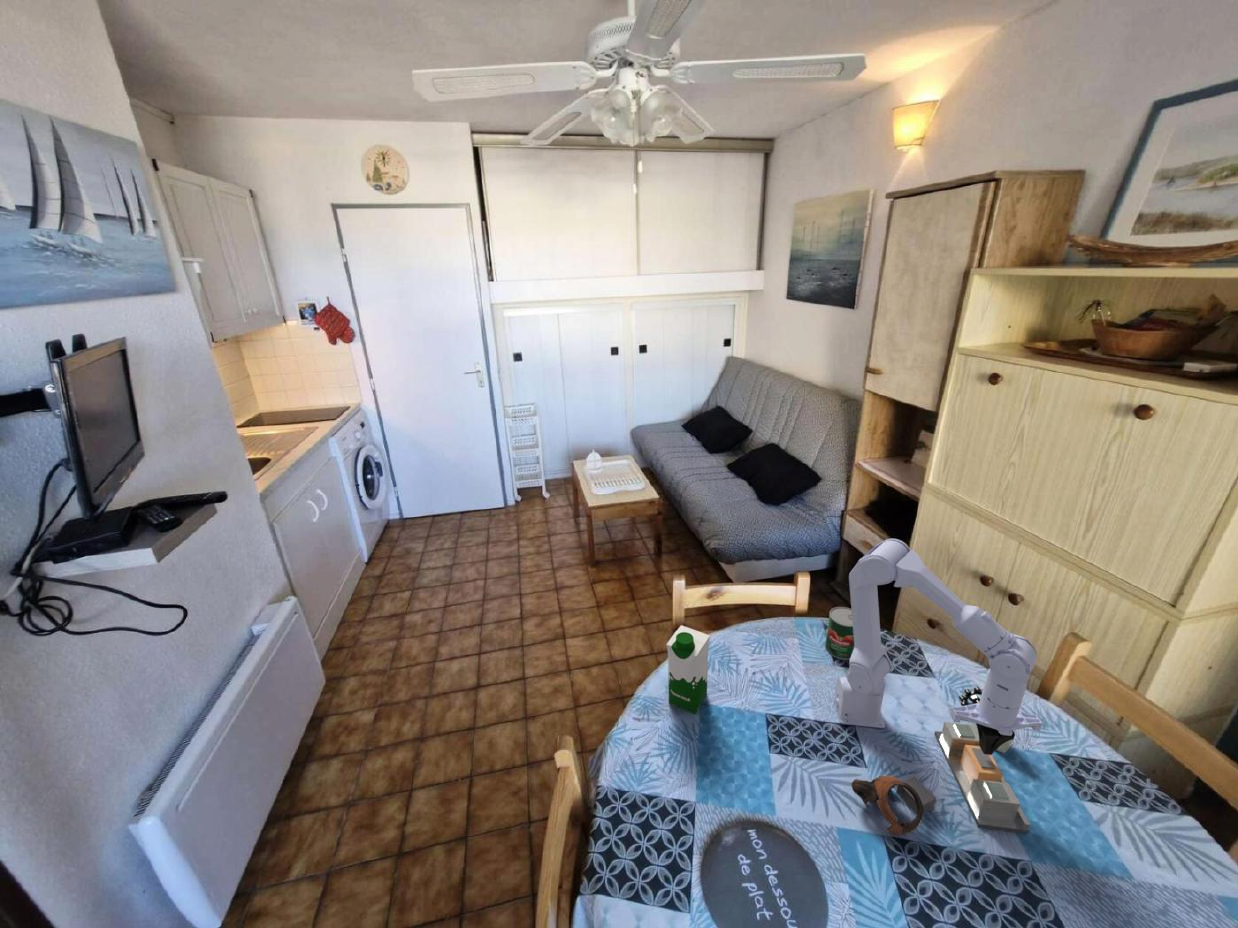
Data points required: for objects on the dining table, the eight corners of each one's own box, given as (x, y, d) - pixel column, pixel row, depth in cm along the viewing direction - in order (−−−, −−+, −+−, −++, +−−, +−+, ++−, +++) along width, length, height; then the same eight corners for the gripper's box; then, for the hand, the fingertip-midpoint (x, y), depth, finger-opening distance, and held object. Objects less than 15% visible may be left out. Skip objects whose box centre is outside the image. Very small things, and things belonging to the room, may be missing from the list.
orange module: (973, 790, 98) (979, 770, 96) (960, 762, 104) (965, 743, 102) (996, 792, 97) (1003, 773, 96) (981, 764, 103) (987, 745, 101)
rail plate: (977, 827, 93) (985, 805, 91) (934, 734, 111) (939, 714, 109) (1026, 833, 91) (1035, 811, 89) (974, 738, 110) (980, 718, 107)
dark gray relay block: (917, 816, 95) (920, 806, 94) (896, 792, 100) (898, 782, 98) (933, 809, 96) (936, 798, 95) (911, 785, 101) (914, 775, 100)
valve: (1020, 754, 106) (985, 708, 117) (1028, 731, 103) (991, 686, 115) (987, 753, 106) (955, 707, 117) (995, 730, 104) (961, 685, 115)
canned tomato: (828, 658, 133) (833, 624, 129) (822, 638, 141) (826, 605, 137) (860, 661, 132) (865, 627, 128) (852, 640, 139) (857, 607, 135)
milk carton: (663, 703, 122) (662, 637, 115) (680, 679, 129) (680, 615, 122) (697, 719, 117) (698, 651, 110) (712, 692, 124) (714, 627, 117)
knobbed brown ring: (903, 788, 101) (926, 782, 94) (906, 844, 95) (930, 843, 88) (843, 766, 102) (861, 759, 96) (841, 820, 96) (861, 817, 90)
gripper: (968, 710, 91) (953, 763, 96) (1059, 719, 88) (1039, 773, 93) (951, 680, 97) (938, 732, 102) (1036, 687, 95) (1018, 740, 100)
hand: (985, 749), depth 98 cm, fingers closed
